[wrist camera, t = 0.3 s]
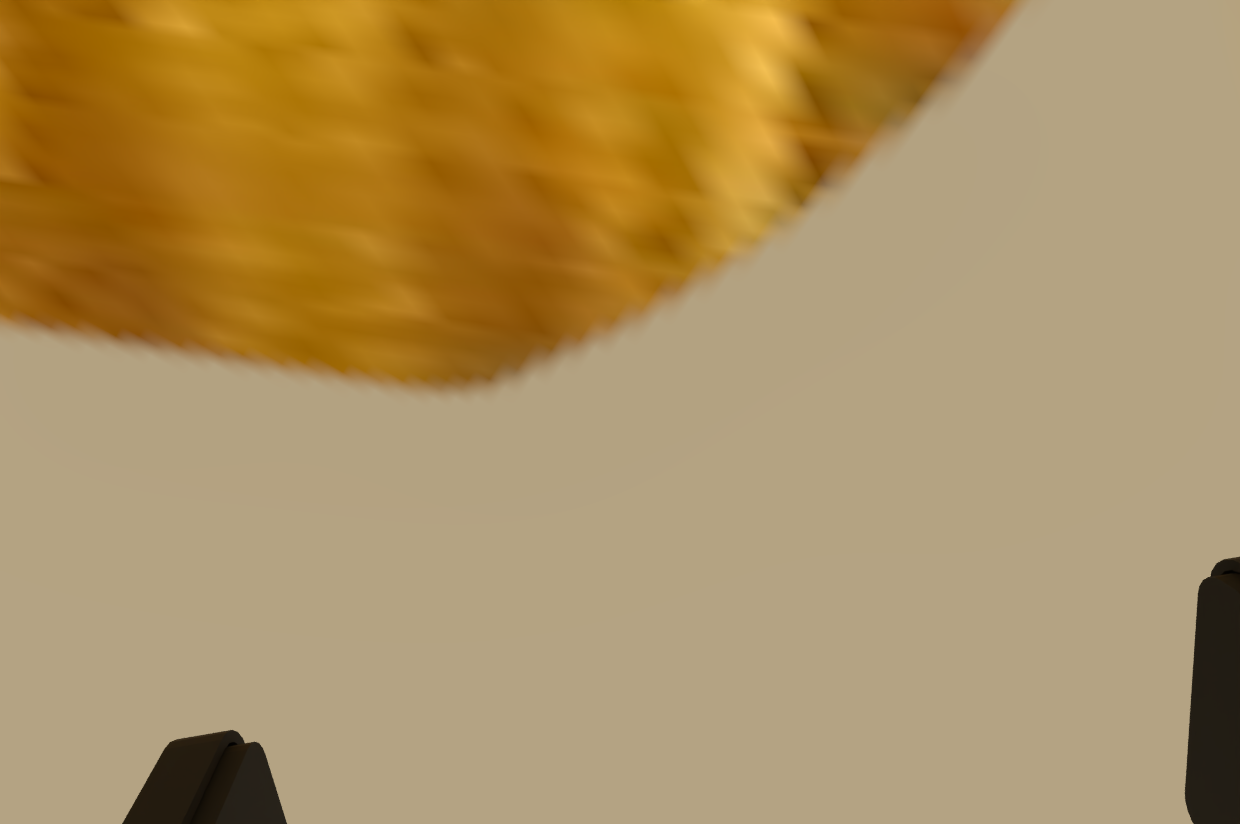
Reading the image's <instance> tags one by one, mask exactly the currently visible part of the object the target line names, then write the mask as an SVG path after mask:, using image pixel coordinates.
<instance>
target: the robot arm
mask: <svg viewBox="0 0 1240 824" xmlns="http://www.w3.org/2000/svg"><path fill="white" fill-rule="evenodd" d="M1190 710H1191V711H1190V724H1189V739H1188V755H1187V770H1186V784H1185V801H1186V805H1187V809H1188V812H1189V815H1190V817H1191V820H1192V822H1193V823H1194V824H1240V557H1236V558H1230V559H1224V560H1222V561H1220V562H1218V563H1217V564H1216V565H1215V567H1214V568H1213V570H1212V572H1211V576H1210V577H1208V578H1206V579H1204V580H1203V581H1202V583H1201V585H1200V586H1199V591H1198V602H1197V617H1196V632H1195V647H1194V664H1193V679H1192V694H1191V708H1190ZM122 824H287V823H286V819H285V816H284V813H283V810H282V806H281V803H280V800H279V797H278V794H277V791H276V787H275V784H274V781H273V778H272V775H271V771H270V768H269V765H268V762H267V758H266V755H265V753H264V750H263V748H262V747H261V745H260V744H259V743H257V742H251V743H244V740H243V738H242V737H241V736H240V734H239V733H238V732H236V731H234V730H230V731H223V732H218V733H212V734H206V735H200V736H194V737H188V738H183V739H177V740H174V741H172V742H170V743H169V744H168V745H167V747H166V748H165V749H164V751H163V753H162V754H161V756H160V758H159V760H158V762H157V763H156V765H155V767H154V769H153V770H152V772H151V774H150V776H149V777H148V779H147V781H146V783H145V785H144V787H143V788H142V790H141V792H140V793H139V795H138V797H137V799H136V800H135V802H134V804H133V806H132V808H131V809H130V811H129V813H128V815H127V816H126V818H125V820H124V822H123V823H122Z"/></svg>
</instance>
